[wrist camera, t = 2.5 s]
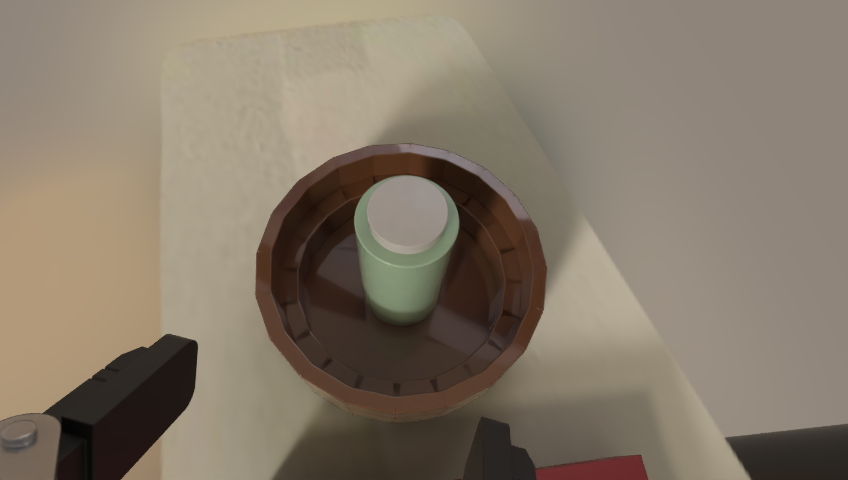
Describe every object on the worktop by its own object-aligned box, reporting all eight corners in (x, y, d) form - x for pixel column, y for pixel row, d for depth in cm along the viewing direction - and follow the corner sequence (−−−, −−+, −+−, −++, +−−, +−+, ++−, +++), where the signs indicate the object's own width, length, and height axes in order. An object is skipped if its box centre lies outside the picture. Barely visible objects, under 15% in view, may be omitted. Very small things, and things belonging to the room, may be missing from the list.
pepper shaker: (434, 251, 31) (453, 161, 22) (444, 322, 29) (470, 254, 20) (360, 257, 31) (349, 168, 22) (365, 330, 29) (356, 264, 20)
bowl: (497, 180, 35) (513, 136, 30) (548, 404, 28) (579, 391, 24) (276, 195, 33) (258, 151, 29) (274, 439, 26) (251, 432, 22)
